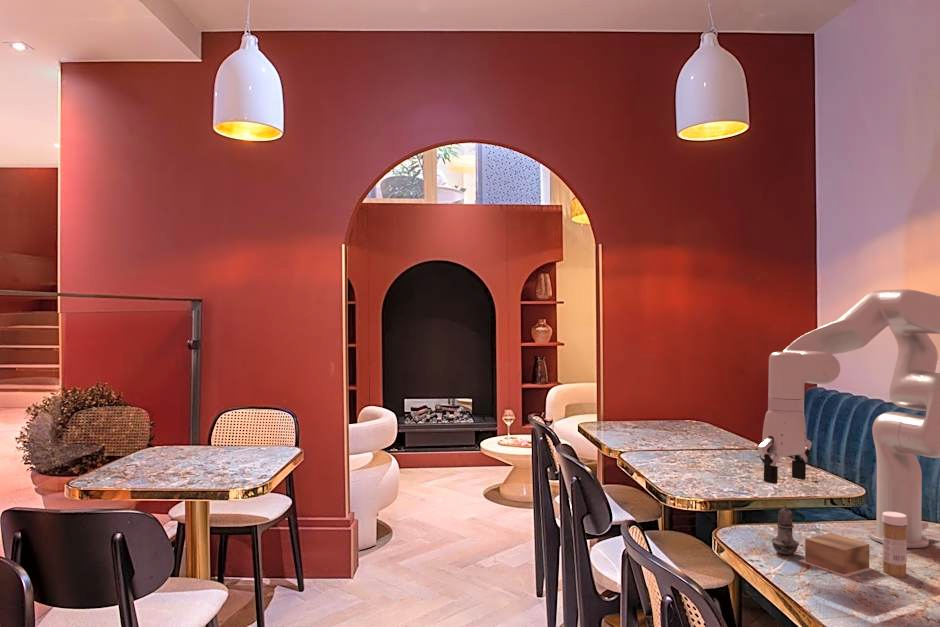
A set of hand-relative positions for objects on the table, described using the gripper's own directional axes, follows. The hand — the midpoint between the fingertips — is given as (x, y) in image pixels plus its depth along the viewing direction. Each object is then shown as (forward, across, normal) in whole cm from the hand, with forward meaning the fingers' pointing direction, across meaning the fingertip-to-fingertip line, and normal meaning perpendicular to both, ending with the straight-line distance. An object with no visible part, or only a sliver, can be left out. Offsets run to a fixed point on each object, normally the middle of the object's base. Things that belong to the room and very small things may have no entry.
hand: (784, 480), depth 162 cm
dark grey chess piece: (+18, 0, 0) cm, 18 cm away
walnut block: (+17, -4, +10) cm, 20 cm away
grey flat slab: (+18, -3, +10) cm, 20 cm away
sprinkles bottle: (+18, -10, +19) cm, 28 cm away
